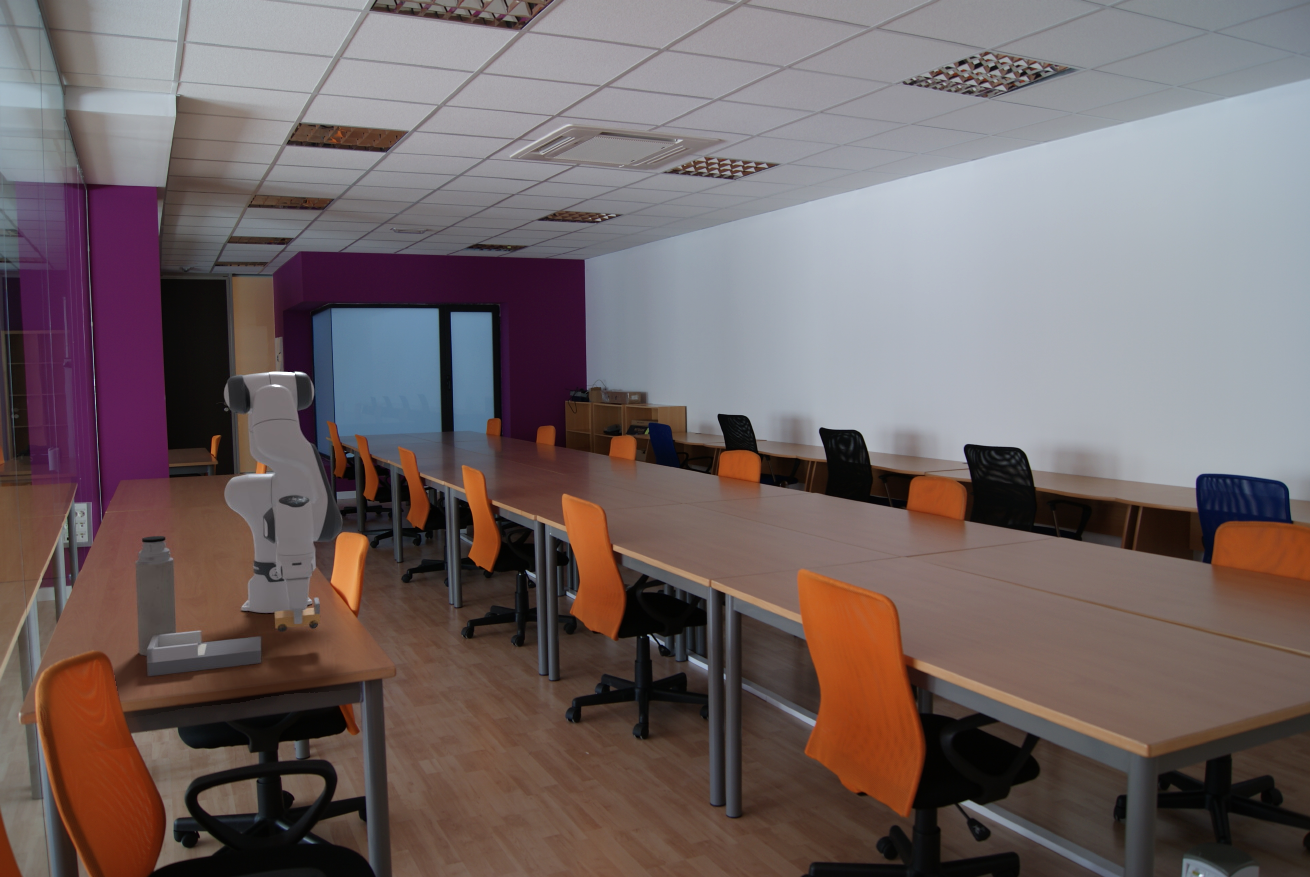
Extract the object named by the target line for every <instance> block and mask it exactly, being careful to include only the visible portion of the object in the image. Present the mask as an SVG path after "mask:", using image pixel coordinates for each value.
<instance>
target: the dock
mask: <svg viewBox="0 0 1310 877" xmlns="http://www.w3.org/2000/svg"><path fill="white" fill-rule="evenodd" d="M261 663H262V636H261V635H260V636H251V637H243V638H233V639H232V638H231V639H224V640H215V641H214V640H213V641H205V642H203V641H202V630H194V631H193V630H191V631H183V632H176V633H171V634H161V635H153V637H152V639H151V641H150V644H149V646H148V648H147V656H146V667H147V669H146V670H147V677H153V676H162V675H171V674H178V673H180V674H181V673H187V672H195V671H204V670H206V671H207V670H214V669H221V668H229V667H238V666H247V665H253V664H254V665H255V664H261Z"/></svg>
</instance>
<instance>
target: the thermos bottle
mask: <svg viewBox="0 0 1310 877" xmlns="http://www.w3.org/2000/svg"><path fill="white" fill-rule="evenodd" d="M141 541H142V548H141V550H140V551H139V552H138V555H137V558H138V560H135V579H136V580H135V583H136V584H135V585H136V586H135V587H136V607H137V609H136V610H137V632H138V633H137V634H138V637H137V638H138V653H139V655H140V656H146V657H147V648H148V646H149V644H150V641H151V639H152V637H153V635H161V634H171V633H177V624H176V596H175V595H176V594H175V591H176V590H175V569H174V568H175V566H174V565H175V564H174V563H175V562H174V558H173V557H171V550H170V549H169V548H167V547H166V546H167V545H166V536H163V535H155V536H154V535H153V536H146V537H142V538H141Z"/></svg>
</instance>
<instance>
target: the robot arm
mask: <svg viewBox="0 0 1310 877" xmlns="http://www.w3.org/2000/svg"><path fill="white" fill-rule="evenodd" d="M314 387H315V386H314V384H313V382H312V380H311V377H310V376H309V375H308V374H307V373H305V372H303V371H293V372H291V371H290V372H288V371H268V372H261V373H260V372H259V373H251V374H250V373H249V374H245V375H244V374H242V373H241V374H237V375H233V376H230V377H229V378H228V379H227V381H226V384H225V387H224V391H223V398H224V401H225V403H226V405H227V406H228V410H229V411H231V412H233V413H235V414H237V415H238V414H240V415H248V417H247V418H248V419H247V422H248V424H247V428H248V441H249V453H250V455H251V457H252V458H253V459H254V460H255V461H256V462H258V463H260V464H262V465H264V466H267V467H269V468H270V470H272V471H273V473H248V474H243V475H237V476H234V477H232V478H231V479H230V480H228V482H227V484H226V486H225V488H224V491H223V492H224V493H223V494H224V500H225V503H226V504H227V506H228V507H229V508H230V509H231V510H233V511H234V512H236V513H237V514H239V515H240V516H241V517H242V518H243V519H244V521H245V522H246V523H247V525H248V527H249V528H250V531H251V534H252V538H253V546H254V559H253V564H252V568H253V569H252V570H253V573H254V574H253V576H252V577H251V578H250V579H249V580H248V583H247V591H248V593H247V598H248V599H247V600H246V601H245V602H244V603H243V605H241V608H240V610H241V611H243V612H244V611H246V612H248V611H249V612H254V613H263V614H264V613H265V614H268V613H272V614H273V613H275V612H276V611H286V610H291V611H293V614H294V624H301V623H302V613H303V610H305V609H306V608H308V605H311V604H313V600H312V599H311V598H310V597H309V591H310V590H309V589H310V579H311V577H313V572H314V571H315V570H316V567H317V566H316V546H315V544H314V542H316V543H317V542H320V543H321V542H331V541H333V540H334V539H335V538H336V537H337V536H338V535H339V534H340V533H341V532H342V529H343V518H342V514H341V510H340V508H339V506H338V504H337V502H336V498H335V497H334V494H333V491H332V487H331V484H330V482H329V479H328V476H327V472H326V469H325V467H324V466H325V465H324V463H323V461H322V458H321V455H320V453H319V451H318V449H317V447H316V445H315V444H314V443H312V442H309V440H307V438H306V437H305V435H304V434H303V432H302V430H301V426H300V418H299V414H298V411H301V410H305V409H307V408H309V407H310V406H311V405H312V403H313V400H314V396H315V388H314Z"/></svg>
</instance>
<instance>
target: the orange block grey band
mask: <svg viewBox="0 0 1310 877" xmlns="http://www.w3.org/2000/svg"><path fill="white" fill-rule="evenodd" d="M274 623H275V624H274V627H275V629H277V631H278V632H281V633H283V632H286V630H287V628H294V627H301V626H303V627H304V626H309V628H311V629H313V630H314V629H316V628H318V626H319V625H320V624H321V603H320V599H319V597H313V607H309V608H308V607H307V608H306V609H305V610H303V613H302V623H301V624H294V614H293V611H291V610H286V611H276V612H274Z"/></svg>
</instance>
